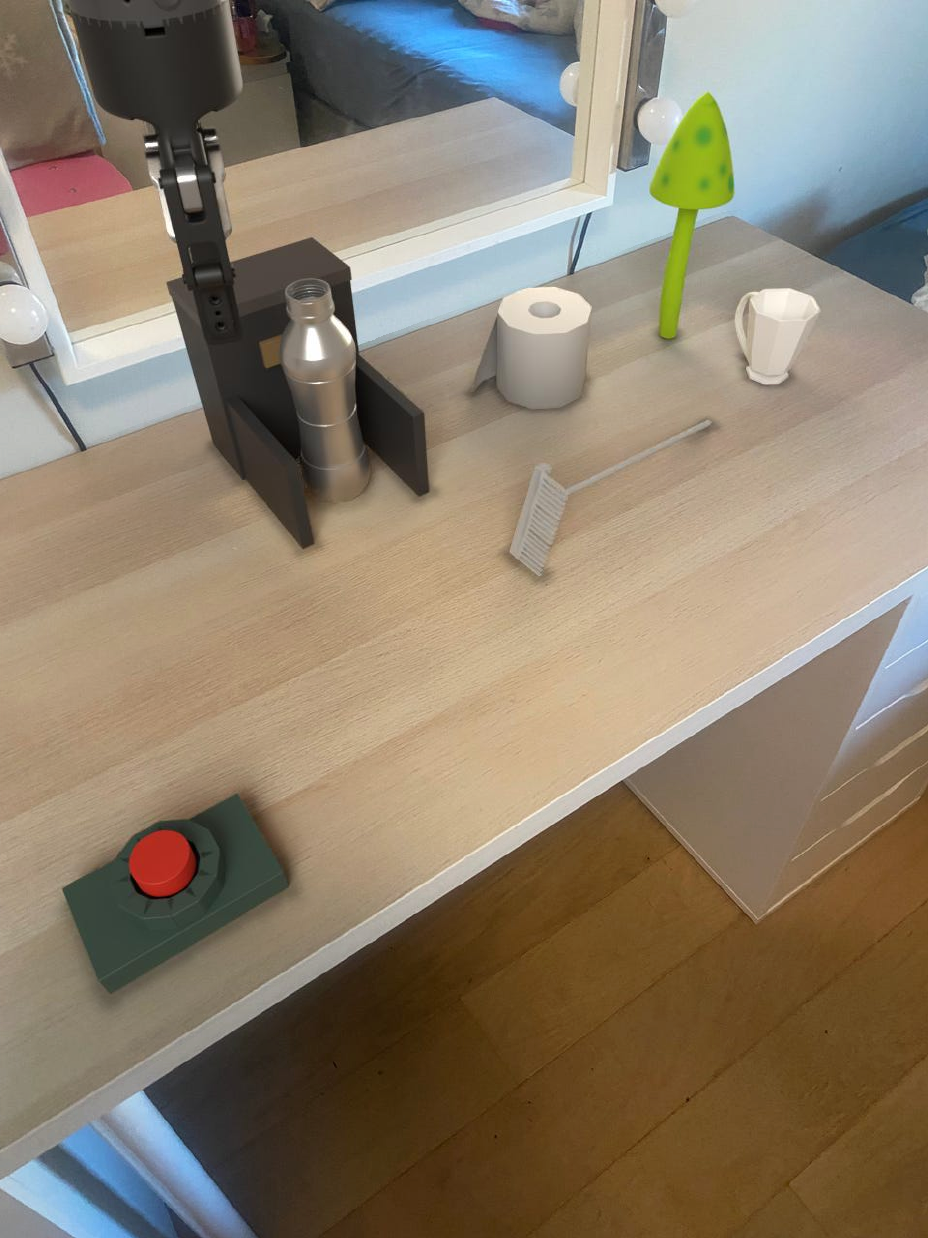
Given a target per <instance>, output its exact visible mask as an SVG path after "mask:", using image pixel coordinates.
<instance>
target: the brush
mask: <svg viewBox="0 0 928 1238" xmlns="http://www.w3.org/2000/svg"><path fill="white" fill-rule="evenodd" d="M711 425H712V421H711V419H706V420H704V421H702V422H700V423H698V424H696V425H694V426H692V427H690V428H688V429H686V430H684V431H681V432H680V433H677V434H676V435H673V436H671V437H669V438H667V439H664V441H661V442H659V443H657V444H655V445H653V446H651V447H648V448H647V449H645V450H643V451H640V452H639V453H636V454H635V455H632V456H630V457H629V458H626V459H624V460H622V461H620V462H618V463H616V464H614V465H612V466H610V467H608V468H606V469H604V470H602V471H599V472H597V473H595V474H593V475H591V476H590V477H587V478H586V479H583V480H581V481H579V482H577V483H575V484H573V485H570V486H568V487H567V488H564V487H563V486H562V485H561V484H559V483H558V482H557V481H556V480H554V479H553V478H552V477H551V473H552V470H553V467H552V466H551V465H549V464H548V463H547V462H541V463H539V464H537V465H535V466H534V468H533V472H532V474H531V479H530V482H529V484H528V489H527V492H526V494H525V495H526V496H525V499H524V503H523V506H522V509H521V512H520V516H519V519H518V521H517V525H516V528H515V531H514V535H513V538H512V541H511V545H510V548H509V551H508V552H509V554H511V556H513V557H514V559H516V560H518V561H519V562H521V563H522V564H523V565H524V566H525V567H527V568H528V569H529V570H531V571H532V573H534V575H537V576H538V577H540V578H541V577H542V576H543V572H544V569H543V568H545V567H546V565H545V563H547V560H546V559H548V558H549V554H550V551H549V550H550V549H552V546H551V545H553V544H554V541H553V540H555V535H557V532H556V531H558V529H559V528H558V526H560V522H559V521H561V520H562V518H561V516H563V515H564V513H563V512H564V511H565V506H567V502H568V500H569V497H568V496H571V495H572V494H574V493H577V492H579V491H581V490H583V489H585V488H587V487H589V486H591V485H593V484H595V483H597V482H599V481H601V480H603V479H605V478H607V477H610V476H611V475H613V474H615V473H617V472H619V471H621V470H624V469H625V468H627V467H629V466H632V465H633V464H635V463H637V462H639V461H641V460H643V459H645V458H647V457H650V456H651V455H653V454H656V453H657V452H659V451H661V450H663V449H665V448H667V447H669V446H671V445H673V444H675V443H677V442H679V441H681V440H684V439H686V438H688V437H690V436H693V435H694V434H696V433H698V432H700V431H702V430H704V429H706V428H708V427H710V426H711ZM566 501H567V502H566Z"/></svg>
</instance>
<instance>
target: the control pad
mask: <svg viewBox="0 0 928 1238" xmlns="http://www.w3.org/2000/svg"><path fill="white" fill-rule="evenodd" d="M161 830H171V831H175V832H178V833H180V834H181V835H183V836H184V837H185V838H186V840H187V841H188V843H189V845H190V847H191V849H192V851H193V853H194V855H195V858H196V869H195V872H194V875H193V877H192V879H191V880H190V882H189V883H188V884H187V885H186V886H185V887H184V888H183V889H181V890H180V891H178V892H177V893H175V894H172V895H169V896H164V897H156V896H151V895H149V894H147V893H145V892H144V891H143V890H142V889H141V888H140V887H139V885H138V883H137V882H136V880H135V879H134V877H133V876H132V874H131V872H130V868H129V859H130V855H131V853H132V851H133V849H134V847H135V846H136V845H137V844H138V842H139V841H141V840H142V839H143V838H144V837H146V836H147V835H149V834H151V833H153V832H156V831H161ZM289 887H290V885H289V882H288V880H287V877H286V874H285V872H284V870H283V868H282V866H281V865H280V863H279V861H278V859H277V858H276V856H275V854H274V853H273V851H272V850H271V848H270V846H269V844H268V843H267V841H266V839H265V838H264V836H263V833H262V832H261V830H260V828H259V827H258V825H257V824H256V821H254V818H253V816H252V815H251V813H250V812H249V810H248V808H247V806H246V805H245V803H244V801H243V800H242V798H241V797H240V795H239V793H238V792H236V793H233V794H232V795H230V796H228V797H227V798H225V799H223V800H221V801H219V802H218V803H216V804H214V805H212V806H210V807H208V808H206V809H204V810H203V811H201V812H199V813H197V814H196V815H194V816H192V817H190V818H188V819H187V818H182V819H169V820H159V821H157V822H155V823H153V824H152V825H149V826H147V827H146V828H144V829H142V830H140V831H138V832H136V833H134V835H132V836H131V837H130V839H128V841H127V842H126V843H125V844H124V846H123V847H122V849H121V850H120V851H119V852H118V854H116V856H115V857H114V859H113V860H111V861H110V862H107V863H105V864H103V865H102V866H100V867H98V868H97V869H94V870H93V871H91V872H89V873H87V874H86V875H83V876H82V877H80V878H78V879H76V880H74V881H72V882H71V883H69V884H67V885H65V886H63V887H62V888H61V891H62V893H63V896H64V899H65V900H66V903H67V906H68V908H69V911H70V914H71V916H72V919H73V921H74V924H75V926H76V929H77V931H78V933H79V936H80V938H81V941H82V943H83V946H84V948H85V951H86V953H87V956H88V959H89V961H90V963H91V967H92V968H93V971H94V974H95V976H96V978H97V979H96V980H97V981H98V982H99V984H100V985H101V986H102V987H103V988H104V989H105V990H106V991H107V992H108V994H110V995H111V994H113V993H115V992H116V991H118V990H120V989H122V988H123V987H125V986H126V985H128V984H130V983H132V982H133V981H135V980H137V979H138V978H140V977H141V976H143V975H145V974H147V973H149V972H150V971H152V970H153V969H156V967H158V966H160V965H162V964H163V963H165V962H167V961H168V960H170V959H172V958H173V957H174V956H177V955H178V954H180V953H181V952H183V951H185V950H187V949H188V948H190V947H191V946H193V945H195V944H197V943H198V942H200V941H201V940H203V939H205V938H207V937H208V936H210V935H212V934H213V933H215V932H216V931H218V930H220V929H222V928H223V927H225V926H227V925H228V924H230V923H231V922H233V921H235V920H237V919H238V918H240V917H241V916H244V915H245V914H247V913H248V912H250V911H252V910H253V909H256V908H257V907H259V906H260V905H262V904H263V903H265V902H267V901H269V900H270V899H271V898H274V897H275V896H276V895H278V894H280V893H281V892H283V891H285V890H286V889H289Z"/></svg>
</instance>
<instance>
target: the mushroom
mask: <svg viewBox="0 0 928 1238" xmlns="http://www.w3.org/2000/svg"><path fill="white" fill-rule="evenodd" d="M734 175H735V174H734V166H733V158H732V152H731V145H730V139H729V135H728V131H727V126H726V123H725V119H724V117H723V113H722V111H721V108H720V106H719V104H718V102H717V100H716V98H715V97H714V96H713V95H712V94H711V93H710V92H709V91H706V92H705V93H704V94H702V95H701V96H700V97H698V98H697V99H696V100H695V101H694V103H693V104H692V105H690V108H689V109H688V110H687V111H686V112H685V114H684V116H683V117H682V119H681V120H680V122H679V124H678V125H677V127H676V129H675V130H674V132H673V134H672V136H671V137H670V139H669V141H668V143H667V145H666V147H665V149H664V151H663V153H662V155H661V157H660V160H659V162H658V164H657V167H656V169H655V171H654V173H653V176H652V179H651V181H650V184H649V190H648V191H649V194H650V195H651V197H652V198H653V199H655V200H656V201H657V202H660V203H661V204H663V205H666V206H670V207H673V208H677V216H676V220H675V225H674V229H673V233H672V239H671V242H670V247H669V251H668V255H667V259H666V265H665V270H664V276H663V281H662V286H661V287H662V288H661V293H660V301H659V302H660V303H659V320H658V321H659V326H658V327H659V333H658V334H659V336H660V337H661V338H664V339H674V338H675V337H677V330H678V325H679V320H680V319H679V318H680V313H681V306H682V302H683V301H682V300H683V294H684V287H685V282H686V281H685V280H686V275H687V269H688V261H689V257H690V252H691V245H692V241H693V237H694V236H693V235H694V231H695V226H696V220H697V218H698V213H699V210H708V209H709V210H711V209H715V208H718V207H722V206H724V205H726V204H729V202H731V201H732V200H733V199H734V196H735V177H734Z"/></svg>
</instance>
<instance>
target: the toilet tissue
mask: <svg viewBox="0 0 928 1238" xmlns="http://www.w3.org/2000/svg"><path fill="white" fill-rule="evenodd" d="M592 310H593V307H592V306H591V305H590V304H589V303H588V302H587V301H586V300H585V299H584V298H583V296H582V295H581V294H580V293H577V292H574V291H570V290H566V289H563V288H560V287H556V286H541V287H539V286H538V287H524V288H522V289H520V290H517V291H515V292H513V293H511V294H509V295H506V296H504V297H503V298H502V301H501V302H500V305H499V307H498V309H497V312H496V317H495V320H494V323H493V326H492V329H491V331H490V334H489V336H488V340H487V342H486V344H485V348H484V350H483V353H482V356H481V359H480V361H479V364H478V367H477V370H476V372H475V374H474V375H475V376H474V380H473V384H472V389H471V392H470V394H472V393H474V391H475V390H477V388H478V387H479V385H481V384H482V382H484V381H485V380H488V379H490V378H492V377H494V376H496V388H497V389H498V391H499V392H500V393H501V395H502V396H503V397H504V398H505V399H506V401H507V402H509V403H512V404H515V405H517V406H521V407H524V408H527V409H529V410H544V409H545V410H546V409H560V408H563V407H565V406H566V405H568V404H570V403H572V402H574V401H576V400H578V399H579V398H581V397H582V393H583V389H584V386H585V384H586V383H585V382H586V376H587V375H586V373H587V366H588V365H587V364H588V363H587V362H588V354H589V353H588V352H589V342H590V331H591V321H592Z"/></svg>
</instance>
